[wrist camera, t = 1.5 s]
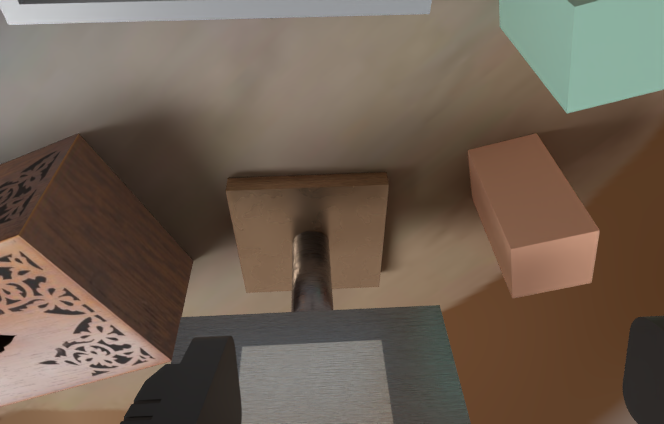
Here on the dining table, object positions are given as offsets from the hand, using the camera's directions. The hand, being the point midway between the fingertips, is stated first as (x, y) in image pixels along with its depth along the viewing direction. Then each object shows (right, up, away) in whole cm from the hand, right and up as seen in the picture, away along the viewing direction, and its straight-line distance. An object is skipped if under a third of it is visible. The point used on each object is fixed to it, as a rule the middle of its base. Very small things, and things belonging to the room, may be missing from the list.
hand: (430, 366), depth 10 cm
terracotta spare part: (+11, +6, +27) cm, 30 cm away
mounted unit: (-4, +1, +31) cm, 31 cm away
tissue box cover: (-29, 0, +31) cm, 42 cm away
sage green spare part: (+10, +17, +18) cm, 26 cm away
